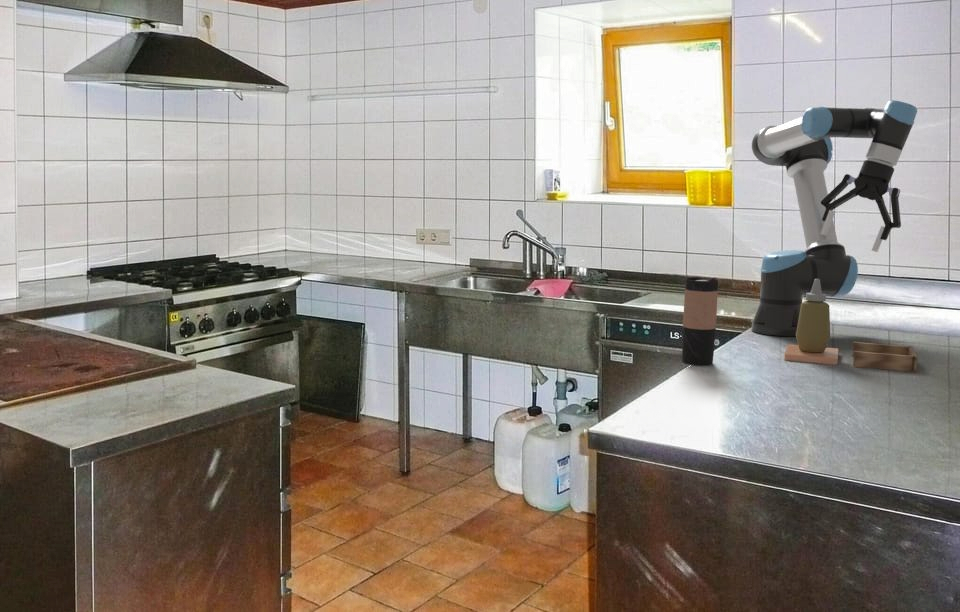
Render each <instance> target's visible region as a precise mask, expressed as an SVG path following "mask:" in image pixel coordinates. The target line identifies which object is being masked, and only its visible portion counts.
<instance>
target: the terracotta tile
mask: <svg viewBox="0 0 960 612" xmlns="http://www.w3.org/2000/svg"><path fill="white" fill-rule="evenodd" d="M838 359H839V348H836V347H835V348H834V347H826V349H825V351H824V352H820V353H810V352H805V351H801V350H800V349H799V346H798V344H787V346H786V349H785V353H784V361H789V362H790V361H791V362H802V363H803V362H804V363H814V364H823V365H825V364H826V365H834V366H835V365H838V363H839V362H838V361H839V360H838Z"/></svg>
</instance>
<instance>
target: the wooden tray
mask: <svg viewBox="0 0 960 612" xmlns="http://www.w3.org/2000/svg"><path fill="white" fill-rule="evenodd" d="M852 357H853V360H852V361H853V363H852V366H853V367H857V368H867V369H880V370H891V371H900V372H901V371H903V372H912V373H916V372H917V366H918V365H917V364H918V356H917V352H916V351H915V349H914V346H912V345H911V346H909V345H897V344H885V343H884V344H882V343H872V342H860V341H853V348H852Z"/></svg>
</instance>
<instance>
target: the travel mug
mask: <svg viewBox="0 0 960 612" xmlns="http://www.w3.org/2000/svg"><path fill="white" fill-rule="evenodd" d="M684 284H685V287H684V300H683V302H684V303H683V317H682V340H681V341H682V346H681V349H682V351H681V352H682V353H681V356H682V357H681V362H682V363H683V364H686V365H690V366H699V367H700V366H706V367H707V366H711V365H713V362H714V356H715V355H714V354H715V342H716V331H717V328H716V327H717V316H718V315H717V314H718V312H717V311H718V296H719V295H718V294H719V293H718V292H719V291H718V290H719V279H716V278H710V279H709V280H705V279H703V278H702V277H686V278H685V283H684Z"/></svg>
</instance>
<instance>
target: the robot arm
mask: <svg viewBox="0 0 960 612" xmlns="http://www.w3.org/2000/svg"><path fill="white" fill-rule="evenodd" d="M917 113H918V108H917V107H916V105H913V104H910V103H909V102H908V103H907V102H906V101H905V102H904V101H901V100H894V99H893V100H889V101H887V103H886V105H885V106H884V108H883V109H878V108H872V107H871V108H870V107H866V108H856V107H855V108H853V107H851V108H849V107H847V108H845V107H844V108H843V107H825V106H818V107H809V108H807V109H806V110H805V112H804V113H803V114H802V116H801V117H798V118H796V119H793V120H791V121H788V122H786V123H783V124H780V125H769V126H765V127H763V128H761V129H760V130H758V131H757V132H756V133H755V134H754V136H753V139H752V141H751V149H752V153H753V155H754V157H755V158H756V159H757V160H758V161H759V162H761V163H763V164H765V165H768V166H773V167H785V170H786V174H787V176H788V177H790V178H792V179H793V183H794V188H795V193H796V199H797V204H798V208H799V213H800V214H799V215H800V218H801V219H800V220H801V224H802V229H803V230H802V231H803V235H804V241H805V245H806V249H805V250H800V249H798V250H797V249H796V250H795V249H793V250H790V249H789V250H787V249H786V250H777V251H772V252H769V253H767V254H765V255H764V256H763V258H762V263H761V268H760V288H759V289H760V290H759V291H760V292H759V305H758V307H757V309H756V311H755V314H754V316H753V320H752V322H751V331H752V332H754V333H758V334H762V335H768V336H769V335H770V336H779V337H796V331H797V325H798V320H799V314H800V309H801V304H802V303H803V297H806V293H811V289H812V286H813V283H814V280H815V279H820V284H821V291H822V294H826V297H832V298H833V297H841V296H842V297H843V296H846V295H848V294H849V293H851V292H852V291H853V289H854V287H855V286H856V285H855V284H856V283H857V279H858V274H859V273H858V272H859V268H858V267H859V266H858V263H857V260H856V258H855V257H854V256H851V255H848V254H847V253H846V248H845V246H844V245H843V244H842V243H839V242H838V237H837V231H836V227H835V223H834V217H835V214H836V211H834V210H835V209H837V208H838V207H840V206H842V205H843V204H845V203H847V202H849V201H850V200H852V199H853V198H855V197H860V198H864V199H867V200H869V201H875V203H876V204H877V207H878V210H879V213H880V215H881V218H882V221H883V223H884V226H883V225H881V226H880V228H879V231H878V233H877V235H876V239H875V241H874V243H873V245H872V247H871V248H872V249H871V251H873V252H876V253H878V252H879V249H880V247H881V245H882V241H887V240H888V237H889V235H890V233H891V230H892V229H896V228H897V229H899V228H901V227H902V221H901V211H900V202H899V197H900V193H901V190H900V188H898V187H889V185H890V182H891V180H892V177H893V175H894V172H895V168H894V167H895V166H897V164H898V161H899V159H900V157H901V154H902V152H903V150H904V149H903V148H904V146H905V145H906V142H907V140H908V137H909V135H910V132H911V131H912V128H913V126H914V124H915V119H916V115H917ZM831 138H850V139H852V138H853V139H872V140H871V143H870V145H869V148H868V150H867V152H866V154H865V158H866V159H865V160H864V161H863V162H862V166H861V168H860V170H859V173H858V175H857V177H854V176H852V175H851V174H849V173H846V174H845V175H844V176H843V178H842V180H841V182H840V183H838V185H836V186H834V188H833V189H832V190H831V191H830V192H828V187H827V183H826V179H825V173H824V172H825V171H826V170H827V167H828V165H829V164H830V162H831V160H832V158H833V153H832V151H834V149H833V142H832V140H831ZM852 183H854V188H852V189H850V190H849V191H848V192H847V193H845V194H843V195H842V196H840V197H838V196H839V195H840V193H841V194H842V192H843V191H844V190H845V189H846V188H847V187H848V186H849V185H851V184H852ZM886 193H888V195H889V196H890V204H891V214H892V220H891V216H890V215H889V211H888V209H887V206H886V203H885V200H884V197H883V195H885V194H886ZM836 197H838V198H836ZM834 199H835V200H834Z"/></svg>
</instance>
